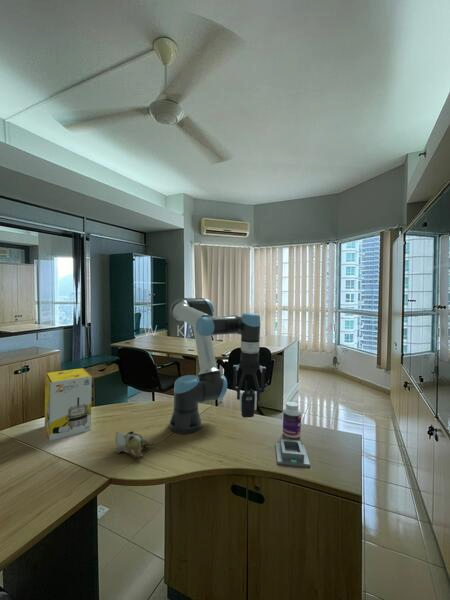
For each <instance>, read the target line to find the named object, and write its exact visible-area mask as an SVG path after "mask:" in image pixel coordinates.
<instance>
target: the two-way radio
mask: <svg viewBox="0 0 450 600" xmlns="http://www.w3.org/2000/svg"><path fill="white" fill-rule="evenodd" d="M244 380H245V381H244V382H245V383H244V391H242V401H241V402H242V406H241V417H243V419H245V418H247V419H248V418H253V417H254V416H255V392H254V390H253V388H250V389H249V390H248V380H246V379H244Z"/></svg>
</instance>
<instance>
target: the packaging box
mask: <svg viewBox="0 0 450 600" xmlns="http://www.w3.org/2000/svg"><path fill="white" fill-rule="evenodd" d="M92 382H93V375H92V374H90V373H89V372H88V371H87V370H86V369H85V368H84V367H81V368H75V369H74V368H73V369H68V370H67V369H66V370H60V371H59V370H58V371H51V372H50V371H49V372H45V373H44V429H45V431H46V434H47V436H48V440H49V441H50V442H51V441H55V440H59V439H62V438H66V437H69V436H74V435H77V434H81V433H85V432H89V431H92V395H93V394H92V389H93V388H92V384H93V383H92Z"/></svg>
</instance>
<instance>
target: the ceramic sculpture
mask: <svg viewBox="0 0 450 600" xmlns="http://www.w3.org/2000/svg"><path fill="white" fill-rule="evenodd" d="M155 444H156V443H155V442H150V441H149V440H147V439H145V438H144V437H143V436H142V435H141V434H138V433H135V432H134V431H129V432H127V433H124V432H119V431H118V432H116V433H115V446H116V447H115V450H116V453H121V452H125V453H127V454H129V455H130V456H132V458H134V459H140V458H141V459H143V458H144V455H143V452H142V450H143V449H147V448H150V447H152V446H155Z"/></svg>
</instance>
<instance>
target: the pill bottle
mask: <svg viewBox="0 0 450 600" xmlns="http://www.w3.org/2000/svg"><path fill="white" fill-rule="evenodd" d="M285 404H286V405H285V407H284V408H283V410H282V412H283V413H282V434H283V435H284V436H285V437H286V438H290V439H297V438H299V437H301V430H302V429H301V426H302V411H301V409H300V408H299V403H297V402H296V401H287V402H286V403H285Z"/></svg>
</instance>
